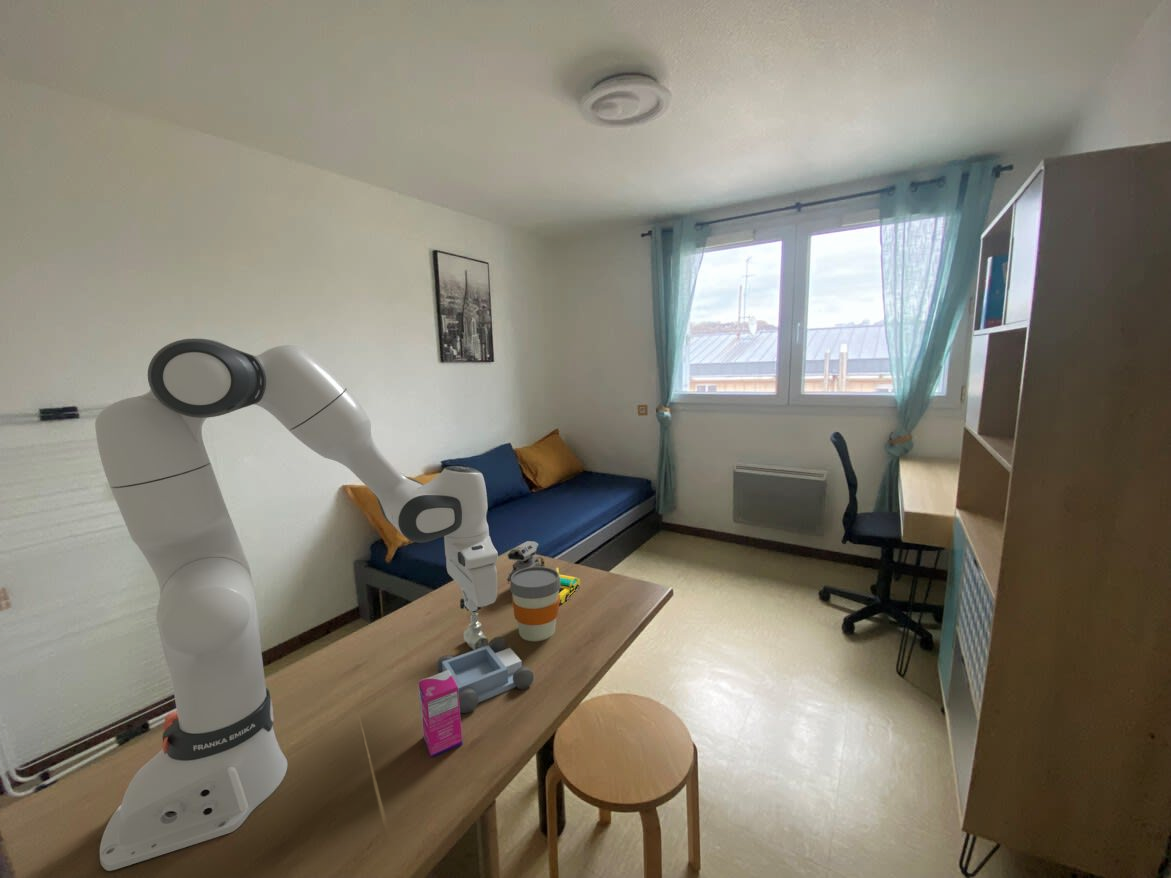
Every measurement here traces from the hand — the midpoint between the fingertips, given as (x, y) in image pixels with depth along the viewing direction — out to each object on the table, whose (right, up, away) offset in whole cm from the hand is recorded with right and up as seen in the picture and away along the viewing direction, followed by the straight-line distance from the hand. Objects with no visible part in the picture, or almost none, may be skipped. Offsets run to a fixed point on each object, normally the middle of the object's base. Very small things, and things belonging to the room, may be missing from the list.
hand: (471, 608), depth 97 cm
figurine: (+6, -11, +44) cm, 45 cm away
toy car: (+17, -12, +40) cm, 45 cm away
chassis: (+2, -17, +3) cm, 17 cm away
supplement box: (-2, -19, -13) cm, 23 cm away
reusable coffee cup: (+11, -14, +22) cm, 28 cm away
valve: (-3, -15, +16) cm, 22 cm away
